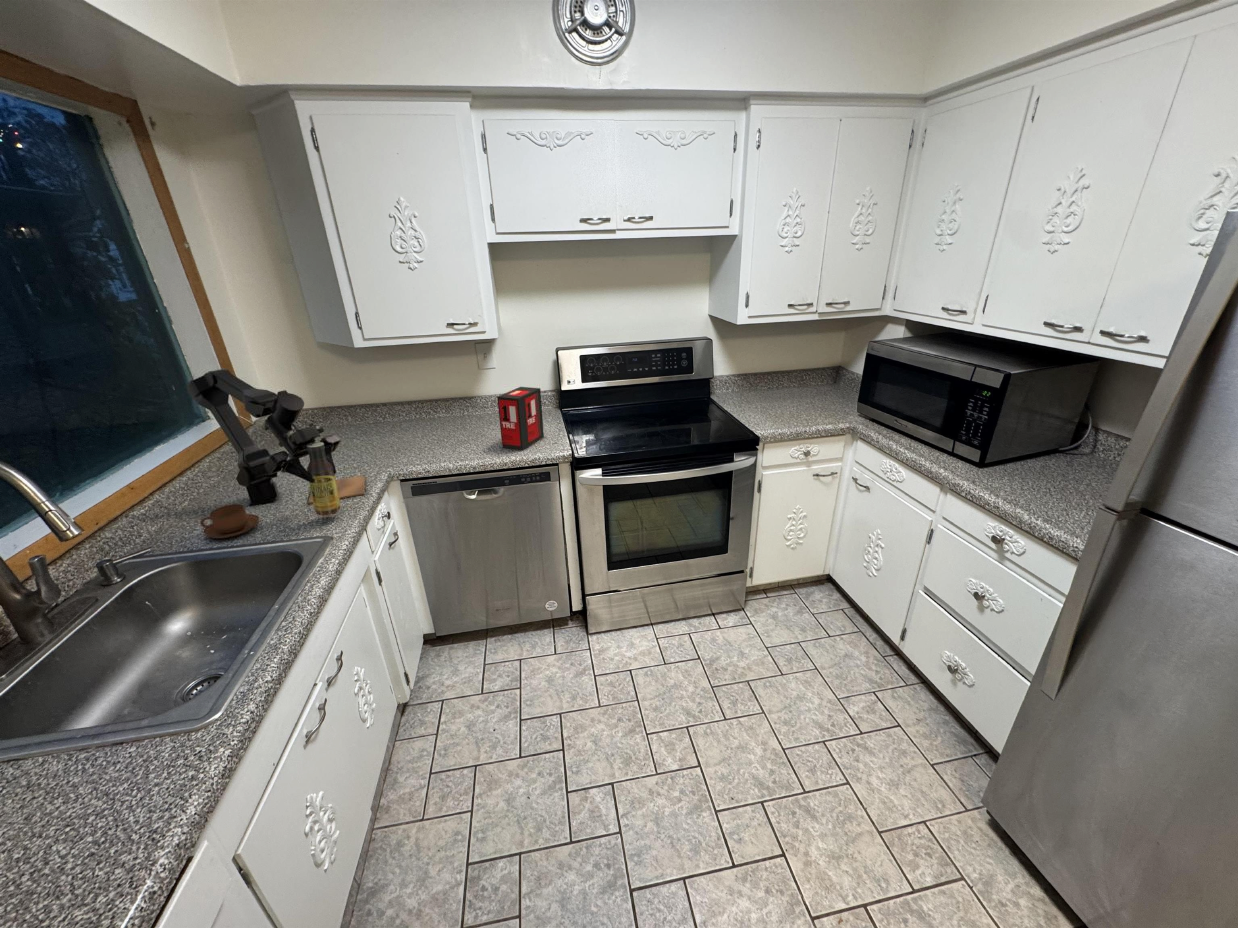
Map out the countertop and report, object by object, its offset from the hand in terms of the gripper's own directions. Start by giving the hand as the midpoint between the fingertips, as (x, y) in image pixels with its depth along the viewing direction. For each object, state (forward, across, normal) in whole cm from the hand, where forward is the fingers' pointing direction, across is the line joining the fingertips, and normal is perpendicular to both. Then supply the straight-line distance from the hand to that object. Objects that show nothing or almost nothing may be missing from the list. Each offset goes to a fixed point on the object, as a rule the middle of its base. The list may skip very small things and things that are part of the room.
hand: (324, 477), depth 135 cm
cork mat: (-2, +14, +21) cm, 25 cm away
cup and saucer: (-4, -15, +23) cm, 28 cm away
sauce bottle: (+7, 0, +9) cm, 11 cm away
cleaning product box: (+17, +74, +1) cm, 76 cm away
